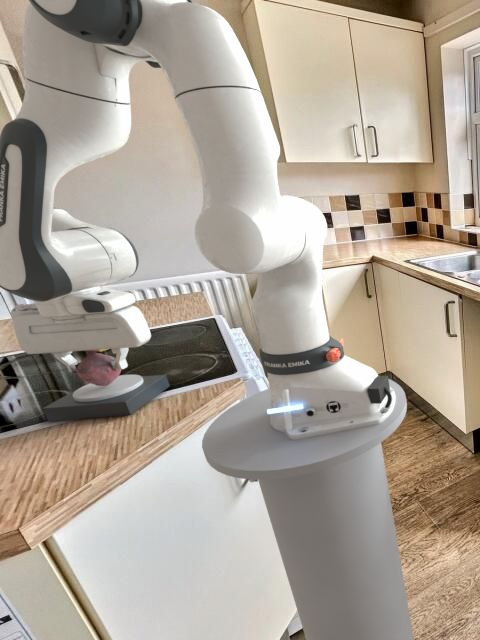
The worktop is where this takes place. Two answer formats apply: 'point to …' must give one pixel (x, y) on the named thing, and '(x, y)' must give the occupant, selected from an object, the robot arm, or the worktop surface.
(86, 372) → the vegetable
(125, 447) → the worktop surface
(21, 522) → the worktop surface
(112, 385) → the scale
